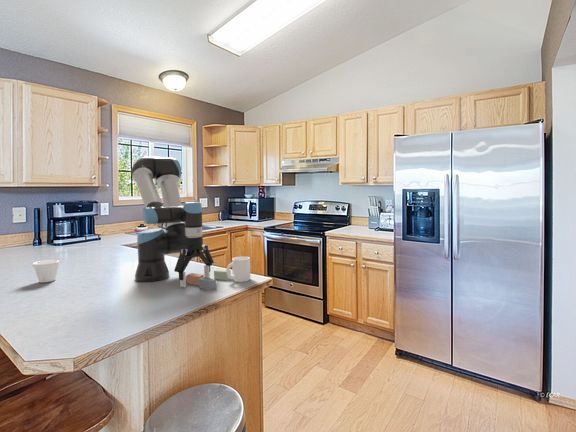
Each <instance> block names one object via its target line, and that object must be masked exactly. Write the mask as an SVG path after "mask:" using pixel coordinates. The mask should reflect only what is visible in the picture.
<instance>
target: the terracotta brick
mask: <svg viewBox="0 0 576 432" xmlns="http://www.w3.org/2000/svg"><path fill="white" fill-rule="evenodd" d="M203 277H205V276H204V274H201V273H193V272H191V273H188V274H186V284H191V285H197V286H199V279H200V278H203Z"/></svg>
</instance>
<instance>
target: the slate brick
mask: <svg viewBox="0 0 576 432" xmlns="http://www.w3.org/2000/svg"><path fill="white" fill-rule="evenodd" d="M216 281H217V279H214V278H211V277H210V278H207V277H205V276H204V277H203V278H200V279H199V285H198V288H200V289H203V290H206V291H214V290H215V289H217V282H216Z"/></svg>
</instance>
